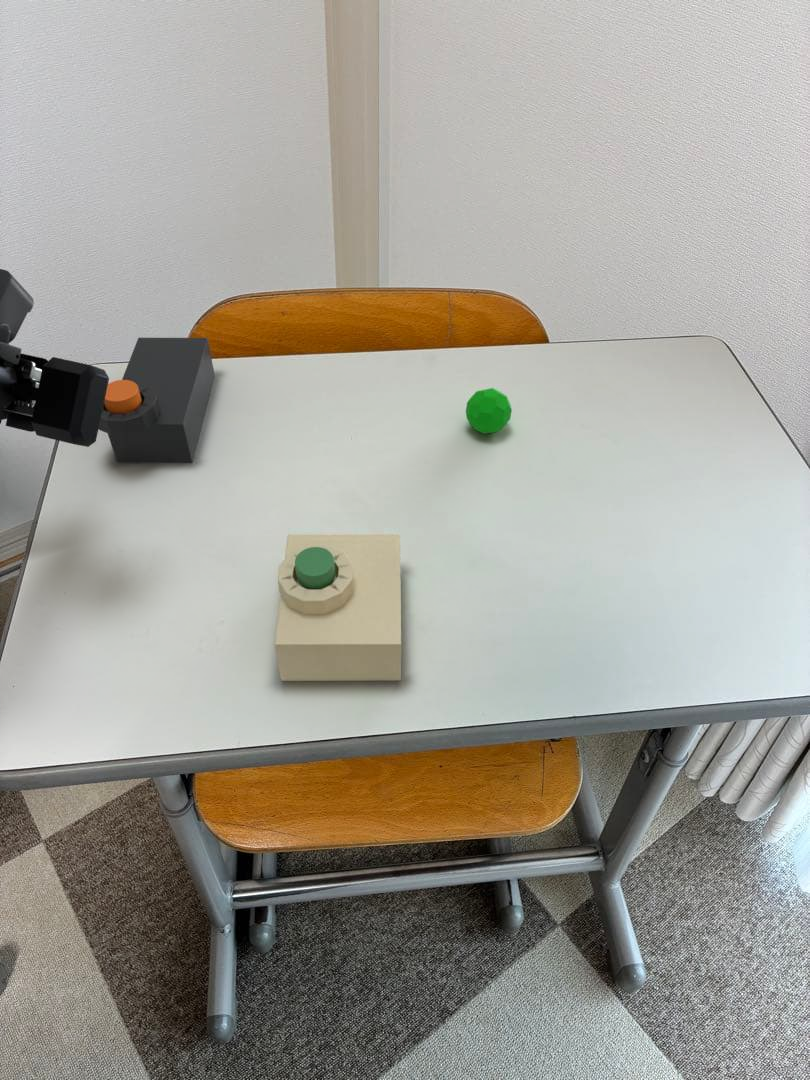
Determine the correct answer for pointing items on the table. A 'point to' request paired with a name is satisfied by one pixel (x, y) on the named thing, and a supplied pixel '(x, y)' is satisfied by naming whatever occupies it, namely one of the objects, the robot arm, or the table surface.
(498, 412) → the polyhedron
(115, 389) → the button
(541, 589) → the table surface
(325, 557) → the power button
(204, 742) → the table surface
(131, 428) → the dark gray block
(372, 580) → the box
